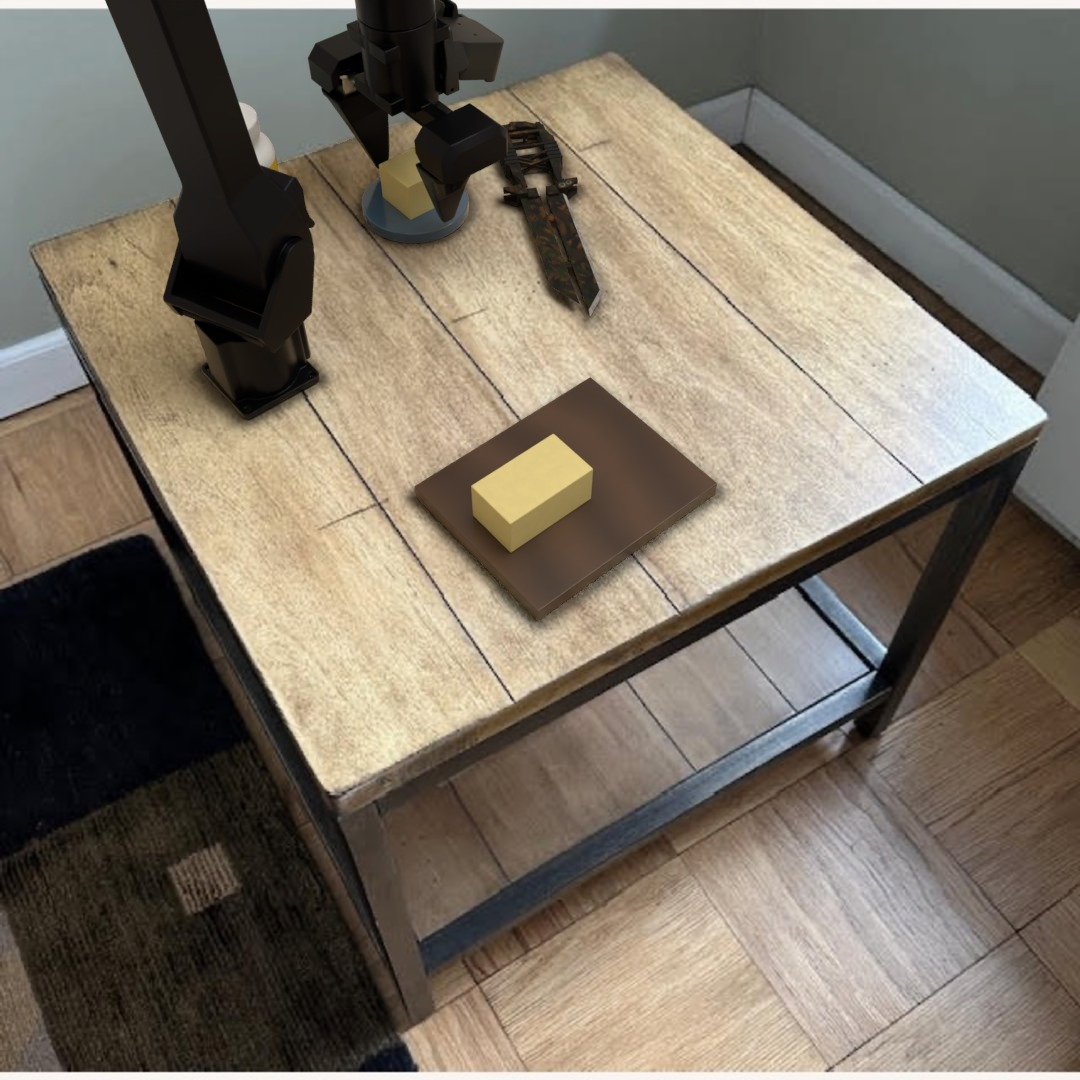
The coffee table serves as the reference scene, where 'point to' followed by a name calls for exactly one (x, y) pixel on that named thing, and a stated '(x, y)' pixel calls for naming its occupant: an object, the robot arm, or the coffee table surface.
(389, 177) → the butter pat
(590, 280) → the knife
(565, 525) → the board
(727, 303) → the coffee table surface
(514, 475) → the butter stick
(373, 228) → the plate
